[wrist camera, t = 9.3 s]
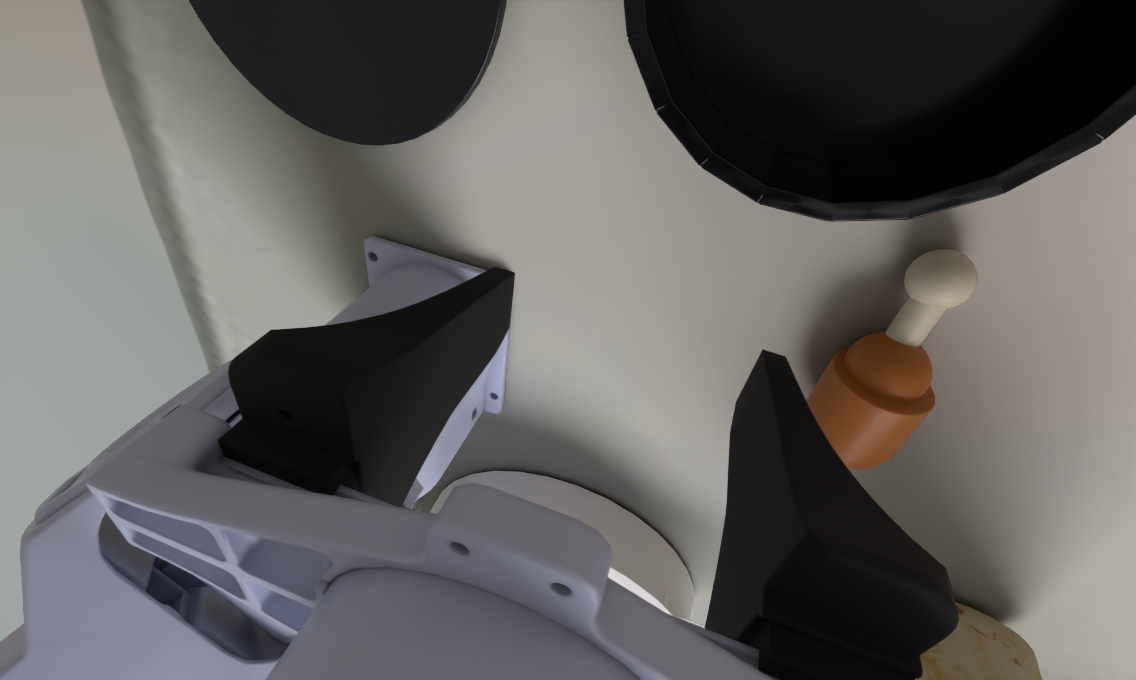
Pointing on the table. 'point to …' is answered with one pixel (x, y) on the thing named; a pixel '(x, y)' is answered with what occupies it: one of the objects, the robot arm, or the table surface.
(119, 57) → the table surface
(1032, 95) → the pan
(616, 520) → the pot
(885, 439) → the drumstick
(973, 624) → the food model
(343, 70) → the pan lid
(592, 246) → the table surface
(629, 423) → the table surface
